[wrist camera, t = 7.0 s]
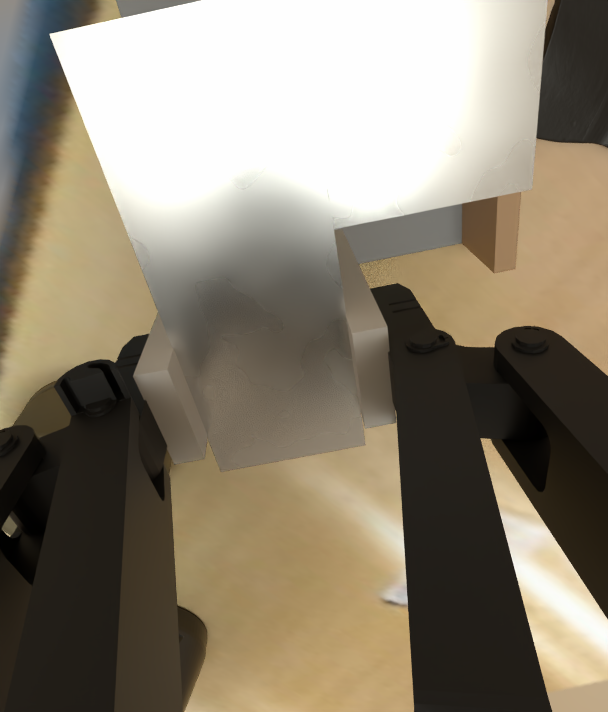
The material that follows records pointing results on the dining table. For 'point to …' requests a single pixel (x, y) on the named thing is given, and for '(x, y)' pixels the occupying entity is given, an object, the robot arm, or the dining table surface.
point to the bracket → (293, 176)
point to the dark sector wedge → (575, 74)
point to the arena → (423, 229)
